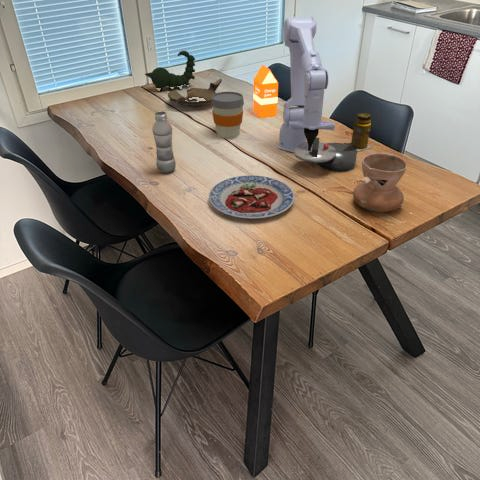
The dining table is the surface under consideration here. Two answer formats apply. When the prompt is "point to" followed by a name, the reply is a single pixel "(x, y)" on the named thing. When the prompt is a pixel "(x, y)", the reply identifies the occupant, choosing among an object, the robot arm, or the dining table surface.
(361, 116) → the condiment
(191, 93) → the oil lamp
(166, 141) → the plastic bottle
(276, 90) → the orange juice
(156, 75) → the toy figurine
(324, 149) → the cooker lid
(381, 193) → the brown clay hourglass vessel
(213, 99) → the reusable coffee cup
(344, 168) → the cooker body
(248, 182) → the ceramic plate
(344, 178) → the dining table surface
